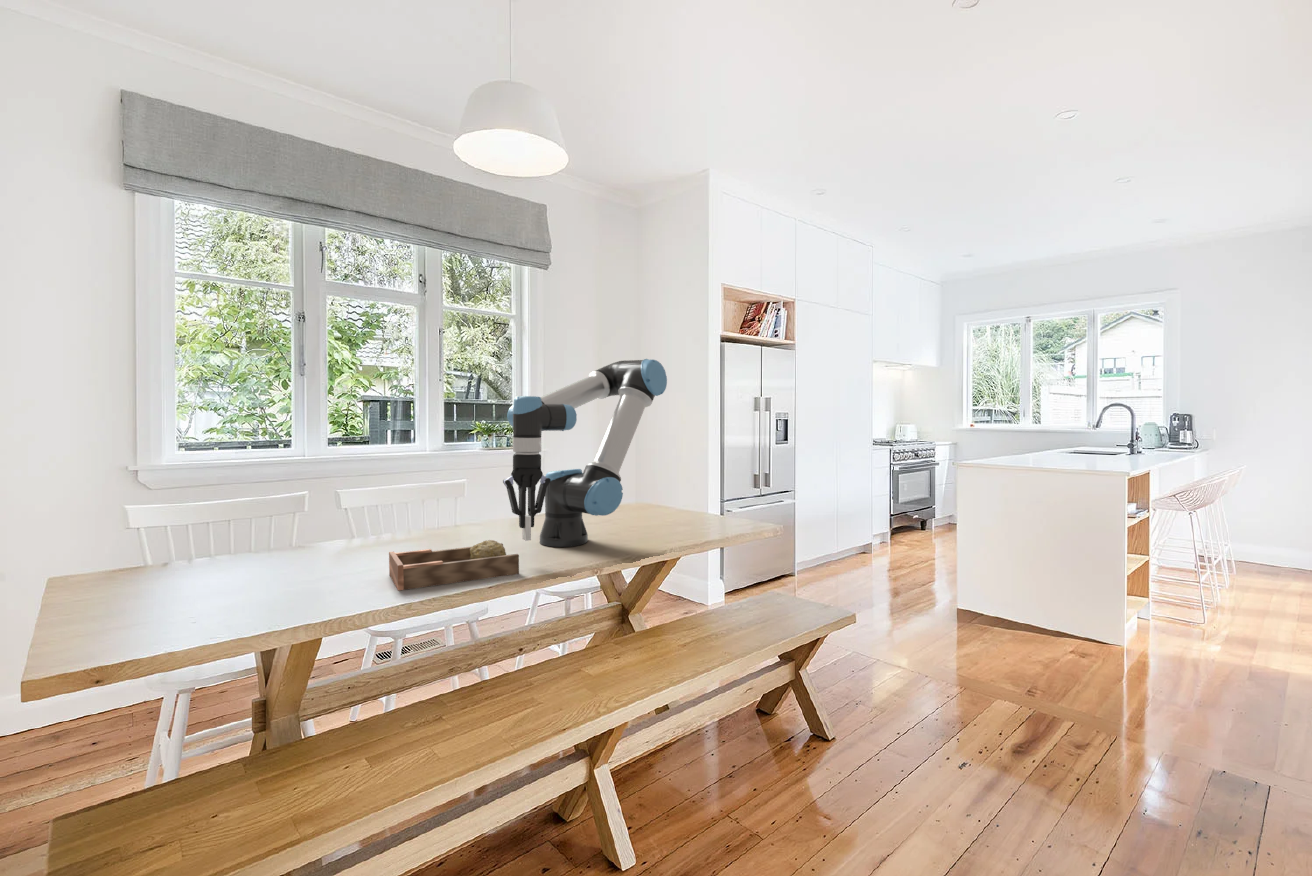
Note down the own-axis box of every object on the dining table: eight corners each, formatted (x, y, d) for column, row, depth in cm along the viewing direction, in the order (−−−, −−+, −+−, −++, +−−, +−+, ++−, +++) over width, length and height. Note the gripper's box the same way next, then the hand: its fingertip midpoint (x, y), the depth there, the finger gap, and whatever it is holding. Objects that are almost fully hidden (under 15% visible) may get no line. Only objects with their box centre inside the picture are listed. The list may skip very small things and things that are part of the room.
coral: (510, 572, 162) (510, 543, 162) (474, 576, 158) (474, 547, 158) (502, 564, 171) (502, 536, 170) (467, 568, 167) (467, 540, 166)
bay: (501, 560, 174) (501, 539, 174) (518, 573, 161) (518, 551, 161) (389, 575, 159) (388, 552, 159) (398, 590, 146) (397, 565, 146)
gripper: (545, 451, 175) (544, 534, 176) (499, 452, 168) (498, 539, 169) (555, 453, 168) (554, 539, 169) (507, 454, 162) (507, 544, 163)
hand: (526, 539), depth 169 cm, fingers closed
